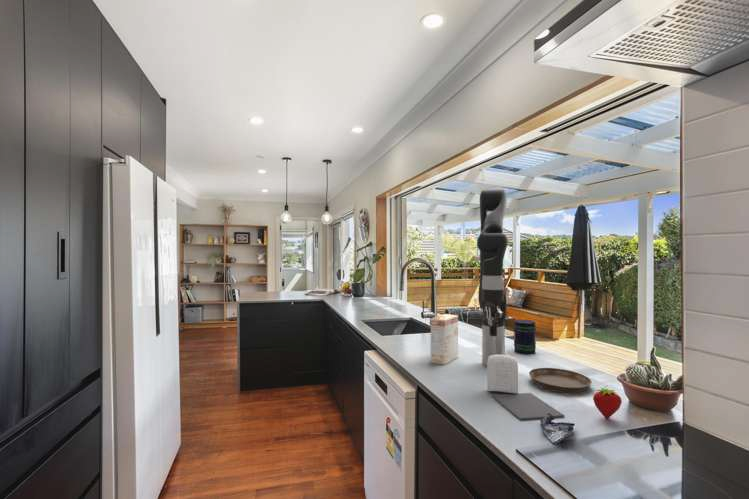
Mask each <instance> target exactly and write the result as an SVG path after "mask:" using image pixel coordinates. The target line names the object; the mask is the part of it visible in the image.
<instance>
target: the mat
mask: <svg viewBox="0 0 749 499" xmlns="http://www.w3.org/2000/svg"><path fill="white" fill-rule="evenodd" d="M491 398H493V399H494V400H495V401H496V402H497V403H499V404H500V405H501V406H502V407H504V409H506V410H507V411H508V412H509V413H511V415H513V416H514V417H516V419H518V420H519V421H529V420H530V421H531V420H543V418H544V417H545V416H546V415H547V414H548V413H549V414H552V416H553V417H554V419H557V418H559V419H560V418H565V414H564V413H562V412H560V411H558V410H557V409H556V408H555V407H552V405H549V404H548V403H547V402H545V401H543V400H542V399H541V398H540V397H537V396H536V395H534V394H533V393H532V392H523V393H521V392H520V393H519V392H518V393H517V394H516V393H506V394H505V393H504V394H491Z"/></svg>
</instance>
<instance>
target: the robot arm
mask: <svg viewBox="0 0 749 499" xmlns="http://www.w3.org/2000/svg"><path fill="white" fill-rule="evenodd" d="M507 204H508V196H507V192H506V190H505V189H501V188H500V189H483V190H481V191H480V194H479V215H480V234H479V236H478V237H477V242H476V244H477V248H478V250H479V261H480V262H479V264H480V265H479V266H480V267H479V268H480V269H479V270H480V271H479V284H478V305H479V308H480V309H482V313H483V316H484V317H483V318H482V321H481V322H482V323H481V324H482V326H481V328H482V330H481V332H482V333H481V334H482V338H481V340H482V343H481V344H482V346H481V348H482V350H481V354H482V355H481V358H482V359H481V361H482V365H483V366H484V367H486V368H487V360H488V358H489V356H491V355H506V337H505V336H506V333H505V332H506V329H505V328H506V324H505V323H506V318H507V317H506V316H507V293H506V290H504V289H505V288H504V267H503V266H504V265H503V264H504V259H505V255H506V251H507V248H508V242H509V239H508V237H507V235H506V234H505V233H504V232H503V231H504V229H503V228H504V226H503V225H504V218H505V214H506V211H507V210H506V209H507ZM488 212H489V214H488Z"/></svg>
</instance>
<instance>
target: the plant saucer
mask: <svg viewBox="0 0 749 499" xmlns="http://www.w3.org/2000/svg"><path fill="white" fill-rule="evenodd" d="M528 374H529V377H530V378H531V380H532V381H533V382H534V383H535V384H536V385H537V386H539V387H541V388H543V389H546V390H549V391H553V392H556V393H566V394H575V393H582V392H584V391H586V390H588V388H590V386H591V385H592V379H590V378H589V377H588V376H586V375H584V374H582V373H579V372H576V371H572V370H567V369H564V368H563V369H562V368H555V367H537V368H534V369H531V370H529V371H528Z"/></svg>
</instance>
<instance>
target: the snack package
mask: <svg viewBox="0 0 749 499" xmlns="http://www.w3.org/2000/svg"><path fill="white" fill-rule="evenodd" d="M553 420H554V421H555V418H554V417H553V416H552V414H549V413H548V414H547V415H546V416H545V417H544V418H543V419H540V425H541V428H542V430H543V432H544V434H545V436H546V437H547V439H548V440H549V437H550V436H551V435H552V434H553V433H559V432H561V433H560V434H561V435H562V436H561V438H560V439H558V438H557V439H558V440H557V441H555V440H554V441H555V442H554V441H553V442H554V443H558V444H559V443H560V442H561V441H562V440H564V439H565V438H566V437H568V436H570V435H571V434H572V433H573V431H574V429H575V428H574V426H575V423H572V422H569V421H568V422H564V421H563V422H554V421H553ZM557 431H559V432H557ZM552 432H553V433H552ZM560 434H559V435H560ZM554 443H553V444H554Z"/></svg>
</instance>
